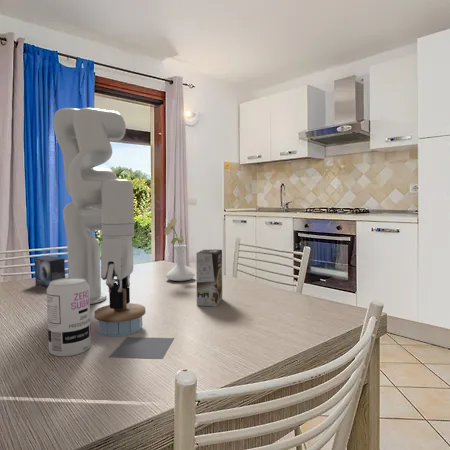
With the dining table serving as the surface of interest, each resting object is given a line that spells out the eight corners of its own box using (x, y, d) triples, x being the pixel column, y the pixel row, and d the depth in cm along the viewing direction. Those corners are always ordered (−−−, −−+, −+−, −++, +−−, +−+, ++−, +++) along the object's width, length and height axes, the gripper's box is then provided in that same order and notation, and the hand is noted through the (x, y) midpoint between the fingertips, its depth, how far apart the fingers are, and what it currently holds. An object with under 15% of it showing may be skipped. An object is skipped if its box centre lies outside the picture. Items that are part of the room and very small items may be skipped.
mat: (108, 359, 75) (108, 357, 75) (127, 338, 86) (127, 337, 86) (162, 360, 74) (162, 358, 74) (174, 339, 85) (174, 338, 85)
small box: (34, 285, 141) (32, 257, 140) (50, 282, 146) (49, 255, 146) (50, 288, 135) (49, 260, 134) (66, 285, 140) (65, 257, 140)
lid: (85, 321, 86) (84, 295, 85) (106, 306, 98) (105, 284, 97) (136, 322, 85) (136, 296, 84) (151, 307, 97) (150, 284, 96)
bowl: (91, 337, 87) (91, 320, 87) (108, 322, 97) (108, 307, 97) (134, 338, 86) (133, 321, 86) (146, 323, 96) (146, 308, 96)
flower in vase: (179, 275, 157) (178, 216, 155) (200, 279, 150) (200, 217, 148) (156, 281, 146) (155, 217, 144) (178, 285, 139) (177, 218, 138)
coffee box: (216, 307, 111) (216, 253, 110) (196, 305, 112) (195, 252, 111) (223, 299, 120) (222, 249, 119) (203, 298, 121) (203, 248, 120)
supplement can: (57, 344, 83) (54, 277, 82) (95, 342, 83) (93, 276, 82) (42, 359, 75) (39, 285, 74) (84, 358, 75) (82, 284, 74)
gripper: (115, 228, 98) (117, 296, 100) (87, 234, 82) (90, 316, 83) (143, 228, 98) (145, 297, 99) (121, 234, 81) (123, 316, 83)
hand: (120, 305), depth 91 cm, fingers open, 3 cm apart
